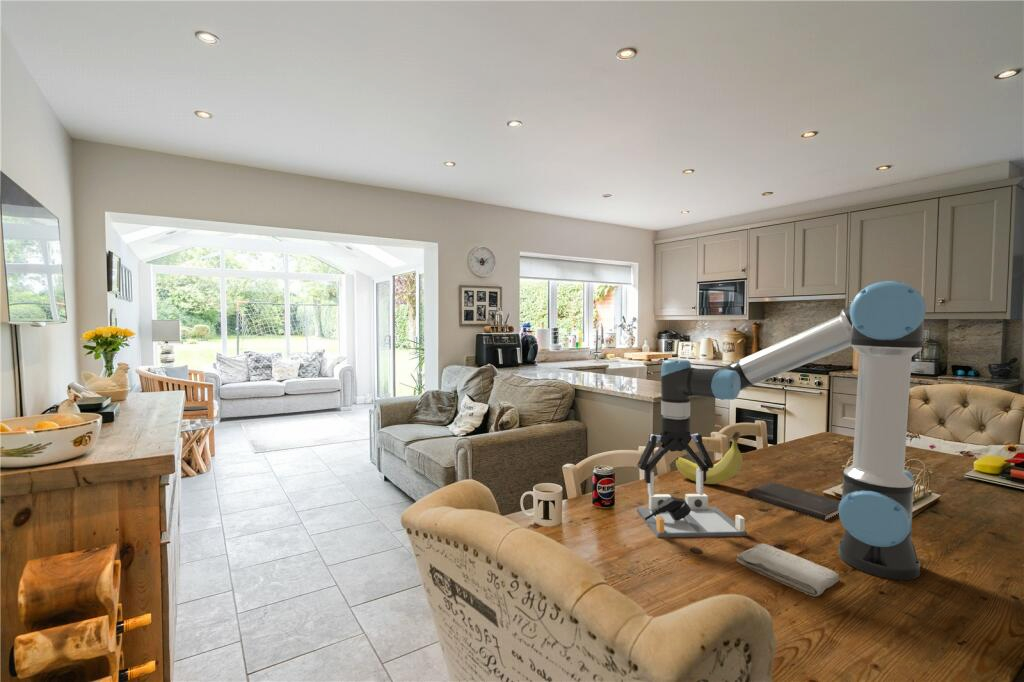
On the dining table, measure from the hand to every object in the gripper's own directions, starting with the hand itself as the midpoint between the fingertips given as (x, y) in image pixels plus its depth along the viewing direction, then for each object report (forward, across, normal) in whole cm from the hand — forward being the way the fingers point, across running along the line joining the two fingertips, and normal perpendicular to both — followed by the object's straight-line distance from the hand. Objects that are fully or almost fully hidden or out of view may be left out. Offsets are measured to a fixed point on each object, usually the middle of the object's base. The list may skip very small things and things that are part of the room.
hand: (675, 494), depth 129 cm
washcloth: (+10, -16, +23) cm, 30 cm away
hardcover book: (+10, -45, -17) cm, 49 cm away
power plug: (+8, +2, -1) cm, 8 cm away
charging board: (+9, -5, -3) cm, 11 cm away
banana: (+9, -25, -34) cm, 44 cm away
